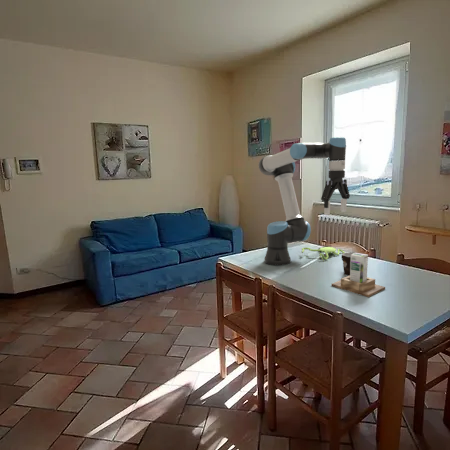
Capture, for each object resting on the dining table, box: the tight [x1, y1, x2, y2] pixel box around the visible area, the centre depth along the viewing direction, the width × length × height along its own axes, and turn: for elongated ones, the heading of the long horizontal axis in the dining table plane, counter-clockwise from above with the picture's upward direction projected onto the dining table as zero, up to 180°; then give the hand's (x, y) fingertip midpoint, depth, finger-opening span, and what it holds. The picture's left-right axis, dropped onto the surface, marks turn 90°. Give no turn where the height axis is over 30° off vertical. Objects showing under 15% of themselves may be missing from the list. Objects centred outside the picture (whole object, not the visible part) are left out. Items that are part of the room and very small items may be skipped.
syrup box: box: [349, 252, 369, 283], centre depth 148 cm, size 6×6×14 cm
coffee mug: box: [341, 252, 354, 276], centre depth 169 cm, size 12×9×10 cm
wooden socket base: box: [330, 275, 386, 298], centre depth 149 cm, size 18×14×4 cm
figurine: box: [301, 246, 346, 262], centre depth 203 cm, size 18×27×6 cm
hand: (335, 213), depth 164 cm, fingers open, 13 cm apart
